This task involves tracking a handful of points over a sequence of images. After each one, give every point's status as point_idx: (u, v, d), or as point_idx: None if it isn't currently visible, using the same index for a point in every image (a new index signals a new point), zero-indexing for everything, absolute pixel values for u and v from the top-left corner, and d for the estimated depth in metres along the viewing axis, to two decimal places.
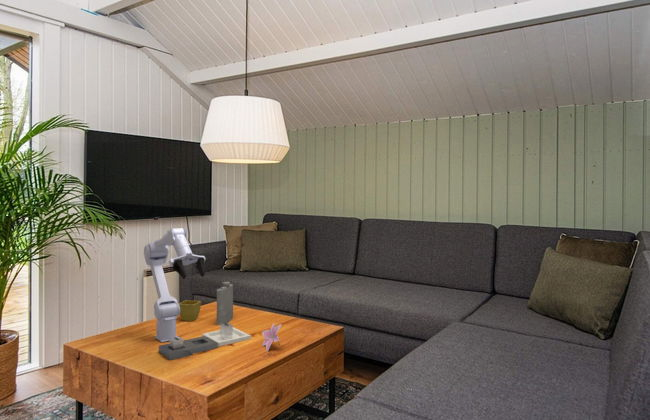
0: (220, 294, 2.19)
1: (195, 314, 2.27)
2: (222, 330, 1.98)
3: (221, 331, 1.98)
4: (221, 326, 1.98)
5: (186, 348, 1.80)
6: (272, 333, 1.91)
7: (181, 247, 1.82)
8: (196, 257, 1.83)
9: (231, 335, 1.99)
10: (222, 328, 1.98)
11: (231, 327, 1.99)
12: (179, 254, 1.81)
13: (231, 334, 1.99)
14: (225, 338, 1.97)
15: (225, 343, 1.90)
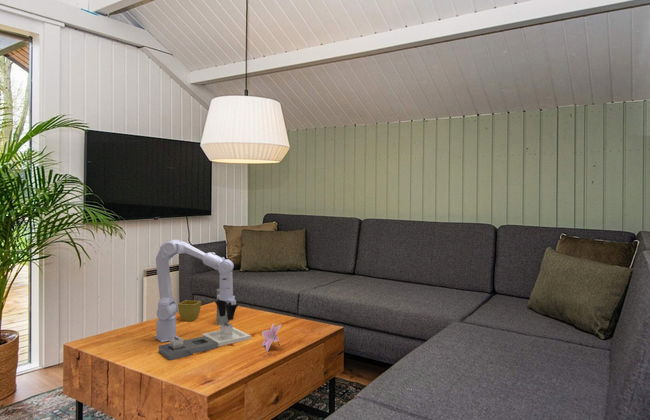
0: None
1: (195, 314, 2.27)
2: (222, 330, 1.98)
3: (221, 331, 1.98)
4: (221, 326, 1.98)
5: (186, 348, 1.80)
6: (272, 333, 1.91)
7: (232, 287, 1.99)
8: None
9: (231, 335, 1.99)
10: (222, 328, 1.98)
11: (231, 327, 1.99)
12: (230, 293, 1.97)
13: (231, 334, 1.99)
14: (225, 338, 1.97)
15: (225, 343, 1.90)
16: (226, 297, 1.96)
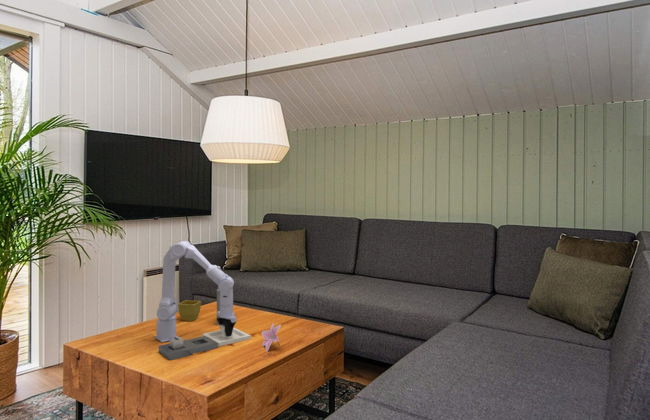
0: None
1: (195, 314, 2.27)
2: (222, 330, 1.98)
3: (221, 331, 1.98)
4: (221, 326, 1.98)
5: (186, 348, 1.80)
6: (272, 333, 1.91)
7: (232, 304, 1.99)
8: None
9: (231, 335, 1.99)
10: (222, 328, 1.98)
11: None
12: (231, 311, 1.97)
13: None
14: (225, 338, 1.97)
15: (225, 343, 1.90)
16: (226, 314, 1.96)
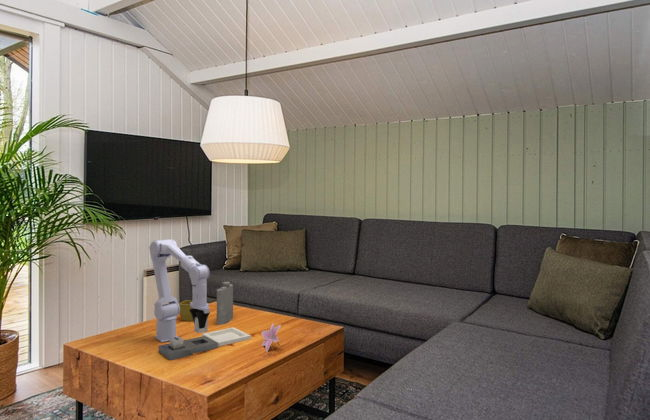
0: (220, 294, 2.19)
1: None
2: (196, 323, 1.87)
3: (195, 324, 1.87)
4: (195, 318, 1.87)
5: (186, 348, 1.80)
6: (271, 333, 1.91)
7: (206, 294, 1.88)
8: None
9: (206, 328, 1.88)
10: (196, 320, 1.87)
11: (206, 320, 1.88)
12: (204, 301, 1.86)
13: (206, 327, 1.88)
14: (199, 331, 1.86)
15: (225, 343, 1.90)
16: (199, 305, 1.85)
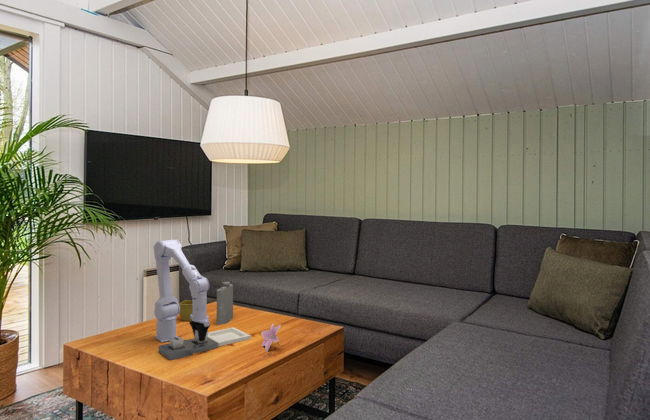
0: (220, 294, 2.19)
1: None
2: (196, 335, 1.87)
3: (195, 336, 1.88)
4: (195, 331, 1.88)
5: (186, 348, 1.80)
6: (271, 333, 1.91)
7: (206, 307, 1.88)
8: None
9: (206, 341, 1.88)
10: (196, 333, 1.87)
11: None
12: (204, 314, 1.86)
13: (206, 340, 1.88)
14: None
15: (225, 343, 1.90)
16: (199, 318, 1.85)
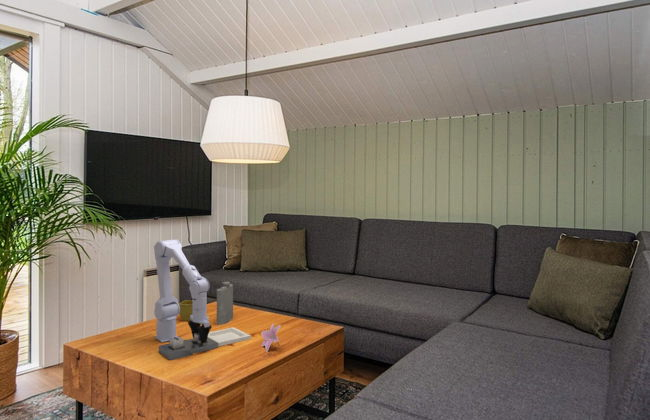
0: (220, 294, 2.19)
1: None
2: (196, 339, 1.87)
3: (195, 340, 1.87)
4: (195, 335, 1.87)
5: (186, 348, 1.80)
6: (271, 333, 1.91)
7: (206, 308, 1.88)
8: None
9: None
10: (196, 337, 1.87)
11: None
12: (204, 314, 1.86)
13: None
14: None
15: (225, 343, 1.90)
16: (199, 319, 1.85)
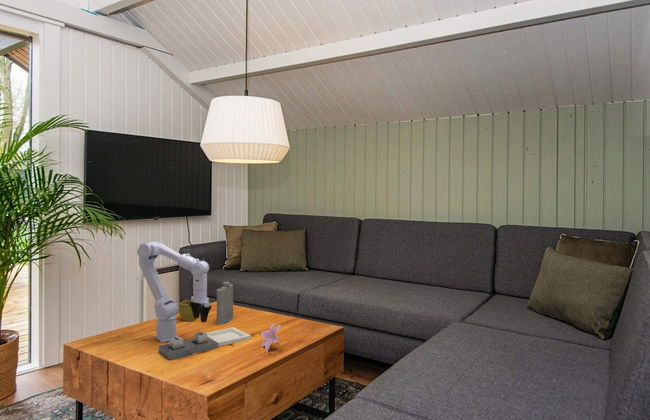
0: (220, 294, 2.19)
1: None
2: (196, 339, 1.87)
3: (195, 340, 1.87)
4: (195, 335, 1.87)
5: (186, 348, 1.80)
6: (271, 334, 1.91)
7: (206, 289, 1.96)
8: None
9: None
10: (196, 337, 1.87)
11: (206, 336, 1.88)
12: (204, 295, 1.94)
13: None
14: None
15: (225, 343, 1.90)
16: (200, 299, 1.93)
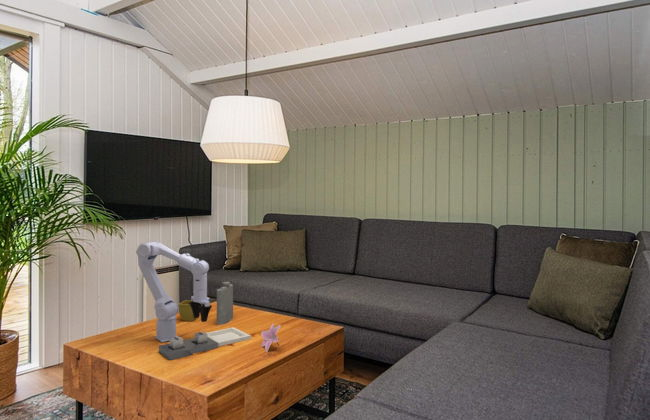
0: (220, 294, 2.19)
1: None
2: (196, 339, 1.87)
3: (195, 340, 1.87)
4: (195, 335, 1.87)
5: (186, 348, 1.80)
6: (271, 334, 1.90)
7: (206, 289, 1.96)
8: None
9: None
10: (196, 337, 1.87)
11: (206, 336, 1.88)
12: (204, 295, 1.94)
13: None
14: None
15: (225, 343, 1.90)
16: (200, 299, 1.93)
